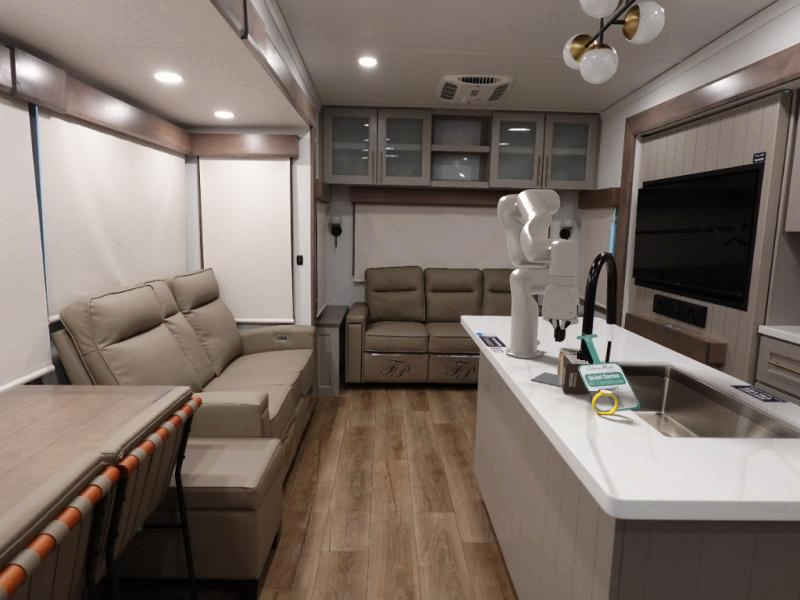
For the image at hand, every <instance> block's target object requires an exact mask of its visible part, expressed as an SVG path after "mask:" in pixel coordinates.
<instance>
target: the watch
mask: <svg viewBox="0 0 800 600" xmlns="http://www.w3.org/2000/svg"><path fill="white" fill-rule="evenodd" d="M602 396H605V397H612V398H613V399H614V406H613V408H612V409H611V410H609V411H598V410H597V408H596V402H597V400H598V399H599V398H600V397H602ZM618 400H619V399H618V398H617V397H616V395H614V393H613V391H611V390H608V389H600V390H599V392H598V393H596V394H595V395H594V397H592V401H591V406H592V409H593V410H594V411H595V413H597V414H598V415H601V416H602V415H603V416H604V415H605V416H612V415H613V414H614V413H616V411H618V410H617V409H618V408H619V401H618Z"/></svg>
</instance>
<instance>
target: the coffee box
mask: <svg viewBox="0 0 800 600" xmlns="http://www.w3.org/2000/svg"><path fill="white" fill-rule="evenodd" d="M580 349H581V348H574V347H573V348H572V347H559V352H558V363H557V371H556V375H557V376H558V379H559V381H560V384H561V387H560V388H561V390H562V392H563V394H568V395H576V396H577V395H578V396H579V395H583V396H587V395H588V390H587V391H586V389H585V386H584V384H583V382H582V379H581V376H580V373H579V371H578V367H579V366H580V365H585V364H590V363H589V361H588V360H587V361H585V360H580V359H577V351H579V350H580Z"/></svg>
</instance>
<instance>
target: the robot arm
mask: <svg viewBox="0 0 800 600" xmlns="http://www.w3.org/2000/svg"><path fill="white" fill-rule="evenodd" d="M560 206H561V198H560V195H559V194H558V193H557V192H556V191H555V190H554V189H540V188H539V189H537V188H534V189H530V188H529V189H525V190H522V191H520V193H517V194H516V193H515V194H507V195H504V196H502V197H500V199H499V200H498V203H497V211H496V213H497V219H498V222H499V225H500V227H501V229H502V230H503V233H504V236H505V240H506V245H507V252H508V257H509V261H510V263H511V264H512V266H513V267H515V268H516V269H514V270H512V271H511V273H510V275H509V286H510V287H509V288H510V292H511V293H510V294H511V309H510V310H511V313H510V316H511V317H510V340H509V342H510V343H509V347H508V348H506V349H505V354H506V355H507V354H508V355H507V356H509V355H510V356H509V357H512V356H513V358H517V357H518V358H519V359H537V358H540V357H541V356H542V351H541V350H539V349H538V346H539V345H540V344H541V341H540V340H539V339H538V337H539V335H538V333H539V315H540V314H539V312H540V309H539V305H538V302H537V301H536V299H535V298H534V297H533V295H543V299H542V307H541V315H542V320H543V321H545V322H547V323H548V322H549V323H550V325H551V327H552V328H553V338H554V342H556V343H557V342H558V343H561V342H564V341H565V339H566V336H567V335H566V333H567V328H568V327H570V326H571V325H578V324H579V316H580V296H579V295H580V294H579V288H578V286H576V281H577V280H576V279H577V263H578V249H579V247H578V242H577V241H576V240H572V239H565V238H535V237H534V236H537V235H539V234H541V233H544V232H545V231H547V230H548V229H549V228H550V227H551V225H552V222H553V215H555V214H556V213H557V212H558V211H559V210H560ZM518 218H519V219H520V218H521V219H523V221H524V223H525V224H524V223H523V222H522V221H520V220H519V219H518Z"/></svg>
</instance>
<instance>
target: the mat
mask: <svg viewBox="0 0 800 600" xmlns="http://www.w3.org/2000/svg"><path fill="white" fill-rule="evenodd" d="M530 381H532V382H536V383H542V384H545V385H548V386H549V385H550V386H554V387H555V386H556V387H559V388H562V387H561V384H560V381H559V379H558V376H557V373H556V374H555V373H550V372H542V373H541V374H539V375H537V376H535V377H532V378H531V379H530Z"/></svg>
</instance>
